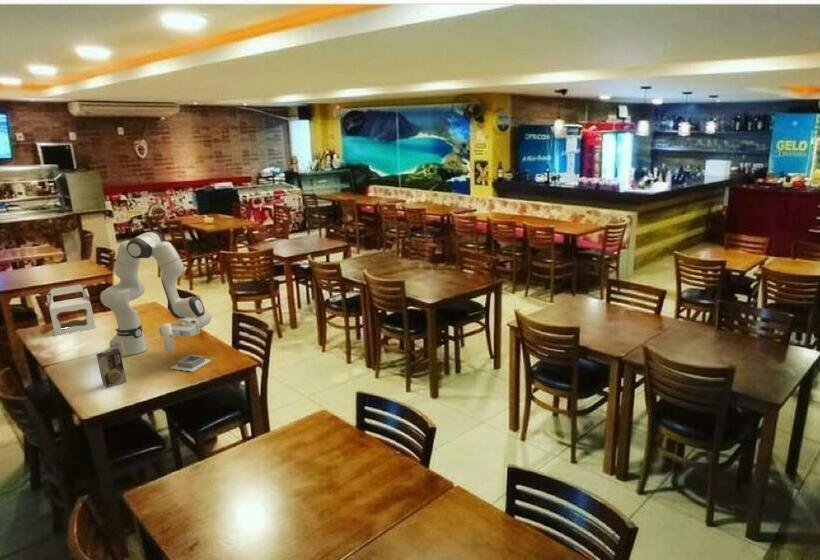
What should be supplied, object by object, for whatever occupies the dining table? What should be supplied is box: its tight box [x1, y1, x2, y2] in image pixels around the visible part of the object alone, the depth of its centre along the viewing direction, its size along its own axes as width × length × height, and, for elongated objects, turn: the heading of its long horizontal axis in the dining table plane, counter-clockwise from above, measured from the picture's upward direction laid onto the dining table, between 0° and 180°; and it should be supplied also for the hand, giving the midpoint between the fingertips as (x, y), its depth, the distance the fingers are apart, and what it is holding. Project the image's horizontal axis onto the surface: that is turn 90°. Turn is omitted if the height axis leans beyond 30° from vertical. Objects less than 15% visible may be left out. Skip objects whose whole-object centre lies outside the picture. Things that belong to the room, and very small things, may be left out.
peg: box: [160, 323, 176, 352], centre depth 281 cm, size 5×5×13 cm
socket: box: [170, 354, 213, 373], centre depth 286 cm, size 14×14×4 cm
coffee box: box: [96, 349, 127, 389], centre depth 267 cm, size 9×6×16 cm
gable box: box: [46, 283, 96, 337], centre depth 345 cm, size 22×13×28 cm, turn 124°
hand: (166, 335), depth 280 cm, fingers closed on peg, 5 cm apart
